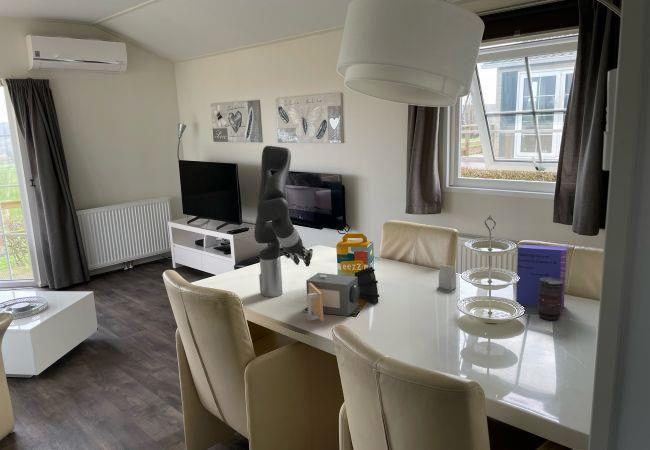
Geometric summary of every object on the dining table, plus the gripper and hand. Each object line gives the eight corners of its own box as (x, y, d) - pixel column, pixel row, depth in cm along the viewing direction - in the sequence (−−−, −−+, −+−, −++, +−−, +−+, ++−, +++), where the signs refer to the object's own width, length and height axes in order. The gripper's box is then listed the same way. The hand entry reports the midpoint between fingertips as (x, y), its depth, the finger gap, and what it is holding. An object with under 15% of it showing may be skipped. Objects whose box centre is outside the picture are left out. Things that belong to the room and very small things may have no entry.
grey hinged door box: (307, 310, 209) (305, 278, 206) (319, 301, 218) (317, 271, 216) (351, 316, 200) (350, 283, 198) (362, 307, 210) (361, 275, 207)
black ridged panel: (376, 302, 210) (366, 267, 212) (360, 307, 221) (350, 274, 224) (384, 300, 212) (373, 266, 214) (367, 305, 223) (357, 272, 225)
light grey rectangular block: (451, 290, 226) (451, 268, 224) (438, 286, 231) (438, 265, 229) (456, 288, 228) (456, 266, 226) (443, 284, 233) (443, 263, 231)
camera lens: (550, 324, 185) (552, 285, 182) (532, 317, 192) (534, 279, 189) (565, 319, 188) (568, 281, 185) (547, 313, 195) (549, 275, 192)
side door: (299, 309, 206) (297, 284, 204) (312, 307, 208) (310, 282, 205) (310, 323, 192) (308, 295, 190) (323, 320, 194) (322, 293, 192)
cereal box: (563, 305, 203) (566, 246, 198) (563, 309, 198) (566, 249, 194) (517, 300, 210) (518, 244, 205) (516, 304, 206) (517, 246, 201)
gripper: (310, 232, 183) (323, 258, 196) (276, 227, 189) (290, 253, 202) (302, 249, 179) (316, 274, 192) (268, 243, 185) (283, 269, 198)
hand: (303, 263), depth 197 cm, fingers open, 4 cm apart
